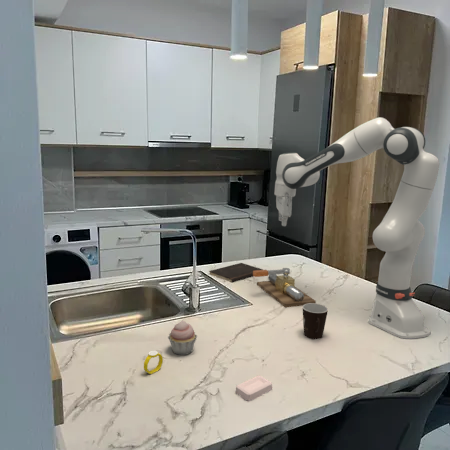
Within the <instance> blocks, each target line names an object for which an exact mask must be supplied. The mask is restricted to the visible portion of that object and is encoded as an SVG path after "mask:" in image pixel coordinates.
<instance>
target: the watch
mask: <svg viewBox="0 0 450 450" xmlns="http://www.w3.org/2000/svg"><path fill="white" fill-rule="evenodd" d="M157 357H158V363H157V365H156V366H155V368H152V369H151V370H148V369H149V368H148V366H149V363H150V360H151V359H153V358H157ZM163 361H164V357H163V356H162V354H161V353H159V352H158V351H157V350H150V351H149V352H148V355H147V357H146V358H145V359H144V362H143V370H144V372H145V373H147V374H148V375H153V374H155V373H156V372H158V371H160V369H161V368H162V366H163V363H164V362H163Z"/></svg>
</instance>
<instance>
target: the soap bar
mask: <svg viewBox="0 0 450 450" xmlns="http://www.w3.org/2000/svg"><path fill="white" fill-rule="evenodd" d="M235 385H236V386H235V393H236V394H237V395H238V396H240V397H241V398H243V399H244V400H245V401H248V402H249V401H250V402H251V401H252V400H254V399H256V398H258V397H260V396H263V395H265V394H266V393H268V392H270V391H272V390H273V382H272V381H270V380H268V379H267V378H265V377H264V376H262V375H260V374H259V375H256V376H254V377H251V378H249V379H247V380H245V381H243V382H241V383H239V384H235Z"/></svg>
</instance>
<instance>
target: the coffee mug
mask: <svg viewBox="0 0 450 450" xmlns="http://www.w3.org/2000/svg"><path fill="white" fill-rule="evenodd" d="M328 311H329V307H327V306H326V305H324V304H320V303H308V304H304V305H303V306H302V324H303V336H304V337H305V338H307V339H309V340H310V339H311V340H320V339H322V338H323V336H324V331H325V325H326V322H327V316H328Z"/></svg>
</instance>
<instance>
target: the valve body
mask: <svg viewBox="0 0 450 450" xmlns="http://www.w3.org/2000/svg"><path fill="white" fill-rule="evenodd" d="M267 279H268V281H271V282H272V283H273V284H275V286H276V289H277V290H278V291H279V292H281V293H282V294H286V295H290V296H291V297H292V298H294V299H295V300H296V301H298V302H300V301H302V300H303V299H304V294H303V293H302V292H303V291H302V290H301V291H302V292H301V291H299V290H300V289H299V288H298V289H299V290H298V289H296V288H297V287H296V286H295V285H296V279H295V278H294V277H292V276H290V274H288V275H285V274H280V275H278V274H274V275H268V276H267ZM295 287H296V288H295Z"/></svg>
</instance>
